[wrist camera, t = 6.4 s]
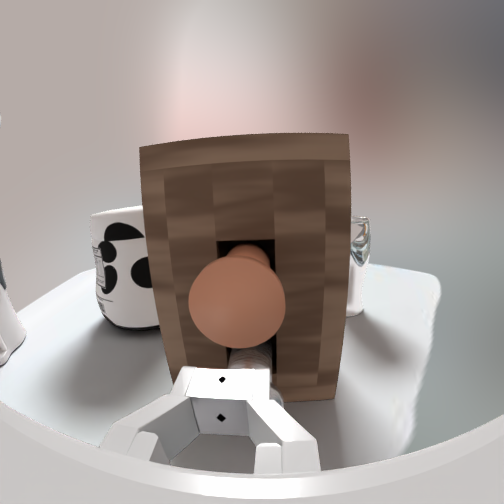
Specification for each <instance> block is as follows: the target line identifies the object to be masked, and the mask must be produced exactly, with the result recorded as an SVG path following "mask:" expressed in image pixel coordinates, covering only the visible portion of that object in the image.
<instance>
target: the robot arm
mask: <svg viewBox="0 0 504 504" xmlns="http://www.w3.org/2000/svg"><path fill="white" fill-rule="evenodd" d="M0 125H1V114H0ZM25 336H26V330H25V328H24V327H23V325H22V323H21V322H20V320H19V318H18V317H17V315H16V313H15V311H14V308H13V307H12V304H11V302H10V299H9V296H8V294H7V291H6V280H5V276H4V271H3V267H2V262H1V261H0V365H2V364H4V363H5V362H6V361H7V360H8V358H9V356H10V354H11V353H12V352H13V351H14V350H15V349H16V348H17V347H18V346H19V345H20V344H21V343H22V342H23V340H24V339H25ZM199 433H202V434H219V435H234V436H250V439H251V440H252V442H253V443H254V445H255V446H256V455H255V466H254V474H245V473H226V472H214V471H204V470H196V469H189V468H182V467H176V466H171V464H170V462H169V461H170V460H172V459H173V458H174V457H175V456H176V455H177V454H179V453H180V452H181V451H182V450H183V449H184V448H185V447H186V446H188V445H189V444H190V443H191V442H192V441H193V440H194V439H195V438H196V437H197V436H199ZM0 504H504V414H503V415H501V416H499V417H497V418H495V419H494V420H492V421H490V422H488V423H486V424H484V425H482V426H480V427H478V428H475V429H473V430H471V431H469V432H467V433H464V434H462V435H460V436H457V437H455V438H452V439H450V440H447V441H445V442H442V443H439V444H437V445H434V446H431V447H428V448H425V449H422V450H419V451H416V452H412V453H409V454H405V455H402V456H398V457H394V458H390V459H386V460H382V461H378V462H373V463H368V464H363V465H358V466H352V467H346V468H340V469H332V470H324V471H321V467H320V460H319V453H318V446H317V440H316V439H315V438H314V437H313V436H312V435H311V434H310V433H308V432H307V431H306V430H305V429H304V428H303V427H302V426H301V425H300V424H299V423H298V422H297V421H296V420H295V419H293V418H292V417H291V416H290V415H289V414H288V413H287V412H286V411H285V410H284V409H283V408H282V407H281V406H280V405H279V404H278V403H277V402H276V401H275V400H270V369H269V368H260V369H222V368H206V367H191V366H183V367H182V368H181V370H180V372H179V375H178V377H177V379H176V381H175V383H174V385H173V388H172V390H171V392H170V394H165V395H163V396H161V397H160V398H158V399H156V400H154V401H153V402H151V403H149V404H147V405H146V406H144V407H142V408H140V409H138V410H136V411H135V412H133V413H131V414H129V415H127V416H125V417H124V418H122V419H120V420H118V421H116V422H114V423H113V424H112V425H111V427H110V429H109V430H108V432H107V434H106V435H105V437H104V439H103V440H102V442H101V444H100V446H99V447H97V446H94V445H91V444H88V443H85V442H83V441H80V440H77V439H75V438H72V437H70V436H67V435H65V434H63V433H60V432H58V431H56V430H53V429H51V428H49V427H47V426H45V425H43V424H41V423H39V422H37V421H35V420H33V419H31V418H29V417H27V416H25V415H23V414H21V413H20V412H18V411H16V410H14V409H12V408H11V407H9V406H7V405H6V404H4V403H2V402H1V401H0Z"/></svg>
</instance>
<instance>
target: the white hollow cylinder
mask: <svg viewBox="0 0 504 504" xmlns="http://www.w3.org/2000/svg"><path fill="white" fill-rule="evenodd" d="M370 240H371V236H370V219H369V218H367V217H361V216H351V245H350V268H349V285H348V298H347V309H346V317H351V316H355V315H358V314H360V313H361V312H362V309H363V305H362V287H363V282H364V278H365V274H366V270H367V266H368V261H369V256H370Z"/></svg>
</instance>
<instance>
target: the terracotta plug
mask: <svg viewBox="0 0 504 504" xmlns="http://www.w3.org/2000/svg"><path fill="white" fill-rule="evenodd" d="M188 303H189V311H190V314H191V317H192V320H193V321H194V323H195V325H196V326H197V328H198V329H199V330H200V331H201V333H203V334H204V335H205V336H206V337H207V338H209V339H210V340H212V341H213V342H215V343H217V344H220V345H222V346H226V347H230V348H249V347H253V346H257V345H259V344H261V343H263V342H265V341H267V340H268V339H269V338H271V337H272V336H273V335H274V334H275V333H276V332H277V330H278V329H279V328H280V326H281V324H282V322H283V319H284V315H285V308H286V306H285V295H284V290H283V287H282V284H281V282H280V280H279V278H278V276H277V275H276V274H275V272H274V271H273V270H272V269H271V268H270V257H269V255H268V253H267V251H266V250H265V248H264V247H262V246H261V245H260V244H258V243H255V242H251V241H244V242H240V243H238V244H236V245H235V246H233V247H232V248H231V249H230V251H229V252H228V254H227V256H225V257H222V258H219V259H217V260H215V261H213V262H211V263H210V264H208V265H207V266H206V267H205V268H204V269H203V270H202V271H201V273H200V274H199V275H198V277H197V278H196V279H195V281H194V283H193V284H192V287H191V289H190V293H189V300H188Z"/></svg>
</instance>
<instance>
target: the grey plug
mask: <svg viewBox="0 0 504 504" xmlns="http://www.w3.org/2000/svg"><path fill="white" fill-rule="evenodd" d="M260 368H269V369H270V400H275V401H276V402H277V403H278V404H279V405H280V406H281V407H282V408H283V409H284V404H283V396H282V394H281V392H280V390H279V389H278V388H277V387H276V386H275V385H274V384H273V383H272V342H271V340H270V338H269V339H268V340H267V341H265V342H263V343H261V344H259V345H257V346H253V347H249V348H232V350H231V354H230V359H229V363H228V367H227V369H260Z"/></svg>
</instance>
